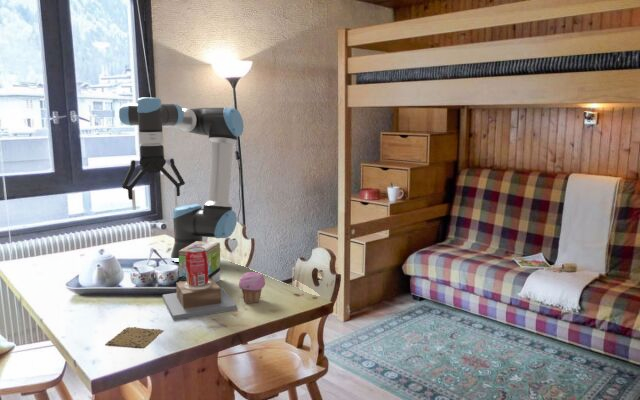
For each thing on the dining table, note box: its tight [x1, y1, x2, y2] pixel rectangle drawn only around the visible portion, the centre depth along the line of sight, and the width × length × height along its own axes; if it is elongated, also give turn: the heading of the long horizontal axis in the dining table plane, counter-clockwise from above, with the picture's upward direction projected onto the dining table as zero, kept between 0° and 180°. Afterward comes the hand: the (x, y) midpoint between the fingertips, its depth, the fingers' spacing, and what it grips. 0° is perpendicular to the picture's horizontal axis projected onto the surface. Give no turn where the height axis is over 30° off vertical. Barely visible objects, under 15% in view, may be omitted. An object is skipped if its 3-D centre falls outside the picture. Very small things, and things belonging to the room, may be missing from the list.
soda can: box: [186, 247, 208, 287], centre depth 175 cm, size 7×7×12 cm
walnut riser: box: [175, 278, 221, 309], centre depth 176 cm, size 12×12×5 cm
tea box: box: [178, 241, 221, 283], centre depth 195 cm, size 15×10×15 cm, turn 168°
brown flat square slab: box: [104, 326, 164, 349], centre depth 152 cm, size 12×12×1 cm
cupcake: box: [238, 271, 266, 304], centre depth 179 cm, size 9×9×10 cm
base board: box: [162, 285, 237, 321], centre depth 177 cm, size 20×20×2 cm
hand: (155, 207), depth 182 cm, fingers open, 13 cm apart
